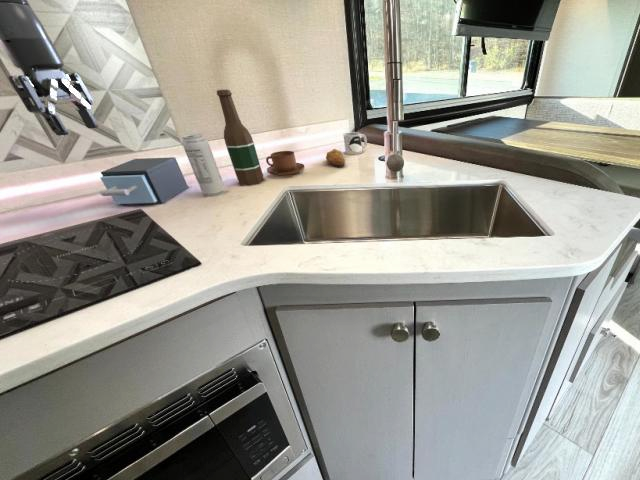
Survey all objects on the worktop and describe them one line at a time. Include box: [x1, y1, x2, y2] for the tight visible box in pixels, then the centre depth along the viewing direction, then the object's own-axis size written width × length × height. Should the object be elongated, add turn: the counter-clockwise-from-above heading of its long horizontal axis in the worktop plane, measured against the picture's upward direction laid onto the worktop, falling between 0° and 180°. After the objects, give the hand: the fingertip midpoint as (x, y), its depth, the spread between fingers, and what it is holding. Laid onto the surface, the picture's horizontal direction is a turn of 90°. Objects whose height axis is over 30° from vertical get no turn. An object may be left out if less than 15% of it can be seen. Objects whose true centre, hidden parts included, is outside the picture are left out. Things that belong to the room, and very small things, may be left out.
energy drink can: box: [181, 133, 226, 197], centre depth 86 cm, size 6×6×15 cm
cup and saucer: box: [265, 150, 305, 177], centre depth 103 cm, size 12×12×6 cm
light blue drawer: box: [99, 174, 157, 205], centre depth 84 cm, size 17×10×7 cm, turn 1°
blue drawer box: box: [100, 156, 189, 206], centre depth 88 cm, size 14×12×9 cm
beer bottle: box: [216, 89, 265, 186], centre depth 91 cm, size 8×8×24 cm
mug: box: [342, 131, 368, 155], centre depth 125 cm, size 10×7×7 cm, turn 131°
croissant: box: [325, 148, 346, 167], centre depth 111 cm, size 14×7×5 cm, turn 28°
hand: (78, 131), depth 70 cm, fingers open, 8 cm apart
